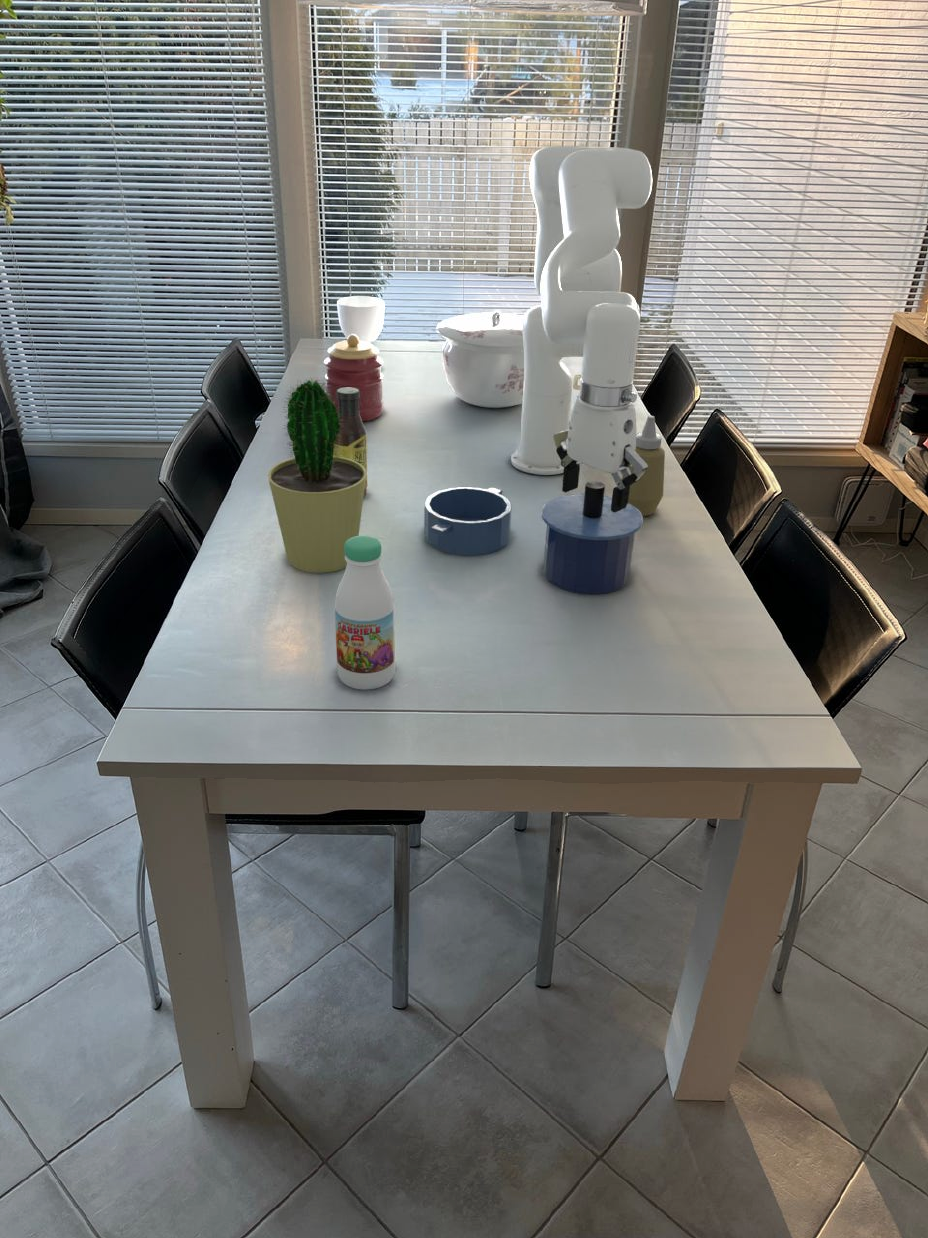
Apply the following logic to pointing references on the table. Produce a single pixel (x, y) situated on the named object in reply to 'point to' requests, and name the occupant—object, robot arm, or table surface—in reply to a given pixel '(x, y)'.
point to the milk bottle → (364, 618)
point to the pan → (467, 520)
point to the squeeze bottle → (648, 470)
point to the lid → (591, 515)
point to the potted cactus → (316, 485)
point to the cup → (361, 316)
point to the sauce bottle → (351, 428)
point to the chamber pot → (484, 358)
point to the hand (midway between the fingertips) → (593, 499)
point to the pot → (587, 563)
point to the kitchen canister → (356, 374)
